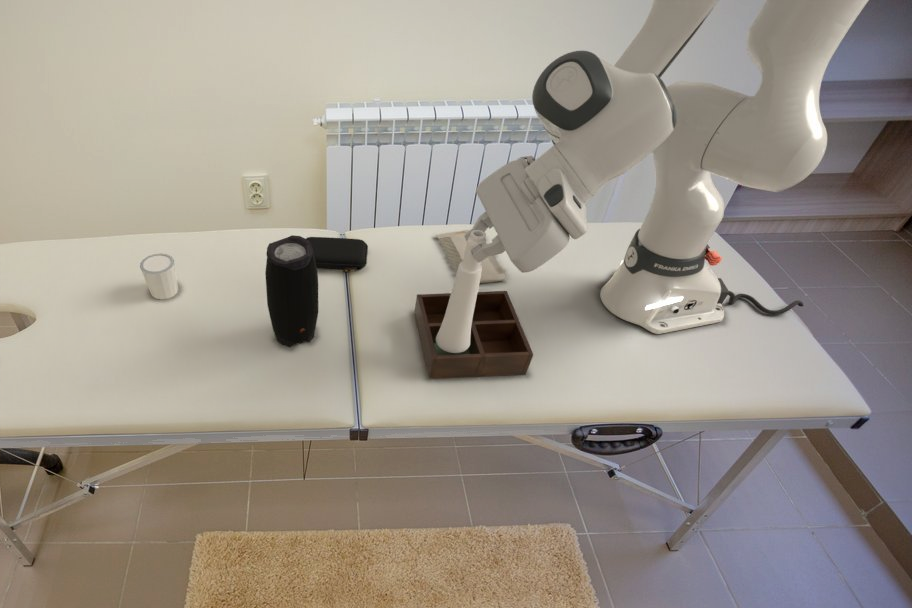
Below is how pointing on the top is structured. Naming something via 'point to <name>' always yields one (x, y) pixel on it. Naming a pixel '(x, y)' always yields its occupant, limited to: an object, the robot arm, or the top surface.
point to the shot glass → (160, 275)
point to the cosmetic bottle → (462, 300)
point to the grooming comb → (456, 249)
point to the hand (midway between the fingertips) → (470, 249)
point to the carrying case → (339, 253)
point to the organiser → (474, 338)
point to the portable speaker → (292, 290)
